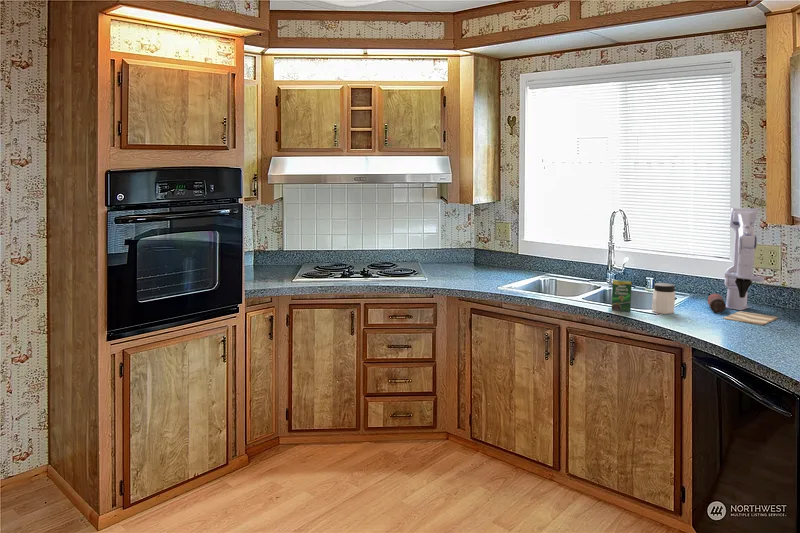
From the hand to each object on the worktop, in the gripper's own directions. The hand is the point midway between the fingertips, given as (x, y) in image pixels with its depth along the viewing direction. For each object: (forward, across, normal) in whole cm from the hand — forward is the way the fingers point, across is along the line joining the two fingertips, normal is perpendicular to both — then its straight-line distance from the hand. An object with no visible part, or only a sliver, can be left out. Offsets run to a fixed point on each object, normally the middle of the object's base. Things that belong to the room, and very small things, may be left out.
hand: (742, 297), depth 275 cm
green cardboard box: (+9, -41, -24) cm, 48 cm away
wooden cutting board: (+9, +3, +3) cm, 10 cm away
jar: (+9, -27, -13) cm, 31 cm away
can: (+6, -10, +3) cm, 12 cm away
